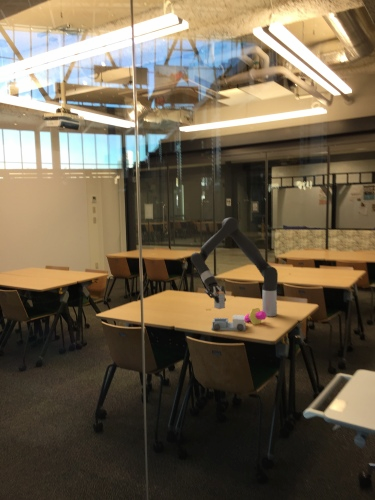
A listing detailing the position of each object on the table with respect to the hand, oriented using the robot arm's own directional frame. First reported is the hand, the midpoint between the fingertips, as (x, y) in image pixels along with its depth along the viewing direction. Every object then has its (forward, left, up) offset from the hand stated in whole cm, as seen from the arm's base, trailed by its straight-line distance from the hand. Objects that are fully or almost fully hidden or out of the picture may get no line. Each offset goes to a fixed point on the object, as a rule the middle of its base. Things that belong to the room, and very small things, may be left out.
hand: (221, 301), depth 247 cm
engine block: (+1, -1, -4) cm, 5 cm away
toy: (-20, -12, -16) cm, 29 cm away
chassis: (-4, -1, -16) cm, 17 cm away
